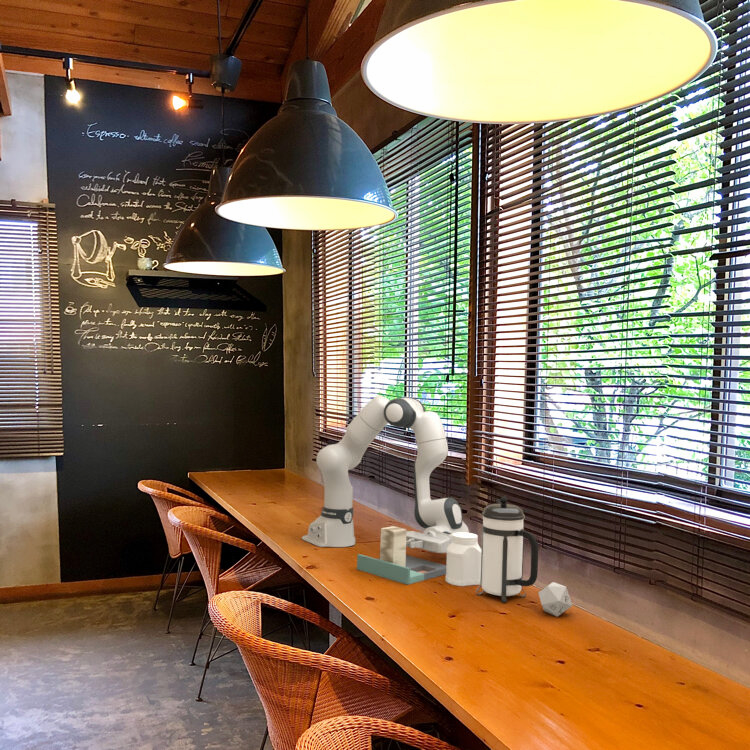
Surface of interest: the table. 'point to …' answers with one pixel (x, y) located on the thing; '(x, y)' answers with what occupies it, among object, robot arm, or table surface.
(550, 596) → the die
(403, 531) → the maple block
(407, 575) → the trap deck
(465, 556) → the jar
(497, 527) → the coffee press
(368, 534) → the table surface
